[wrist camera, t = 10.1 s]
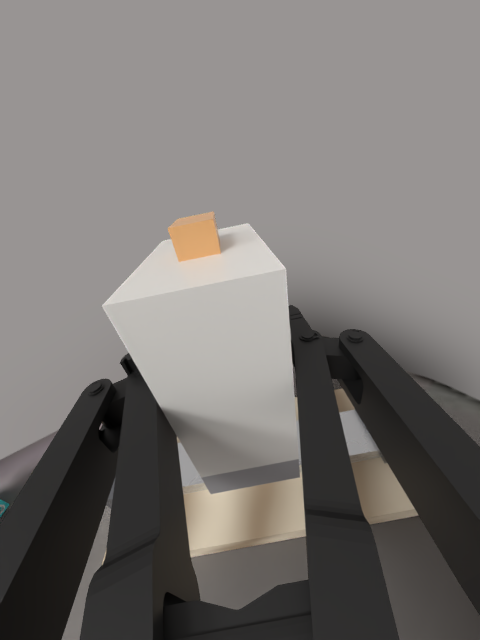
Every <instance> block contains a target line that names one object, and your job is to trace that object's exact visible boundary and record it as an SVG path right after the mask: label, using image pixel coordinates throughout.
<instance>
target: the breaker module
mask: <svg viewBox="0 0 480 640" xmlns="http://www.w3.org/2000/svg"><path fill="white" fill-rule="evenodd" d="M168 231H169V234H170V237H171V239H169V240H164V241H162V242H161V243H160V244H159V245H158V246H157V247H156V248H155V249H154V251H153V252H152V253H151V254H150V255H149V256H148V257H147V258H146V259H145V260H144V262H142V263H141V265H140V266H139V267H138V268H137V269H136V270H135V271H134V272H133V273H132V274H131V275H130V277H128V278H127V279H126V281H125V282H124V283H123V284H122V285H121V286H120V287H119V288H118V289H117V290H116V291H115V293H113V294H112V296H111V297H110V298H109V299H108V300H107V301H106V302H105V303H104V304H103V305H102V307H103V309H104V311H105V313H106V314H107V316H108V318H109V319H110V321H111V323H112V325H113V326H114V328H115V330H116V332H117V333H118V335H119V336H120V338H121V340H122V342H123V344H124V345H125V347H126V349H127V350H128V352H129V354H130V356H131V357H132V359H133V361H134V363H135V364H136V366H137V368H138V370H139V371H140V373H141V375H142V376H143V378H144V380H145V382H146V383H147V385H148V387H149V389H150V390H151V392H152V394H153V395H154V397H155V399H156V401H157V402H158V404H159V406H160V408H161V409H162V411H163V413H164V414H165V416H166V418H167V420H168V421H169V423H170V425H171V427H172V428H173V430H174V432H175V433H176V435H177V437H178V439H179V440H180V442H181V444H182V446H183V447H184V449H185V451H186V452H187V454H188V456H189V458H190V459H191V461H192V463H193V465H194V466H195V468H196V470H197V471H198V473H199V475H200V477H201V478H202V480H203V482H204V484H205V485H206V487H207V489H208V490H209V492H210V494H215V493H220V492H225V491H231V490H236V489H241V488H246V487H252V486H257V485H262V484H267V483H273V482H278V481H283V480H289V479H294V478H299V477H300V471H299V456H298V441H297V426H296V411H295V396H294V381H293V366H292V351H291V336H290V322H289V307H288V293H287V277H286V268H285V267H284V266H283V265H282V263H281V262H280V261H279V260H278V259H277V257H276V256H275V255H274V254H273V252H272V251H271V250H270V249H269V248H268V246H267V245H266V244H265V243H264V242H263V240H262V239H261V238H260V237H259V236H258V234H257V233H256V232H255V231H254V230H253V228H252V227H251V226H250V225H249V224H248V223H247V224H242V225H237V226H232V227H228V228H223V229H217V224H216V220H215V215H214V212H209V213H204V214H199V215H194V216H189V217H185V218H180V219H177V220H176V221H175V222H174V223H173V224H172V225H171V226H170V227H169V228H168Z"/></svg>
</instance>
